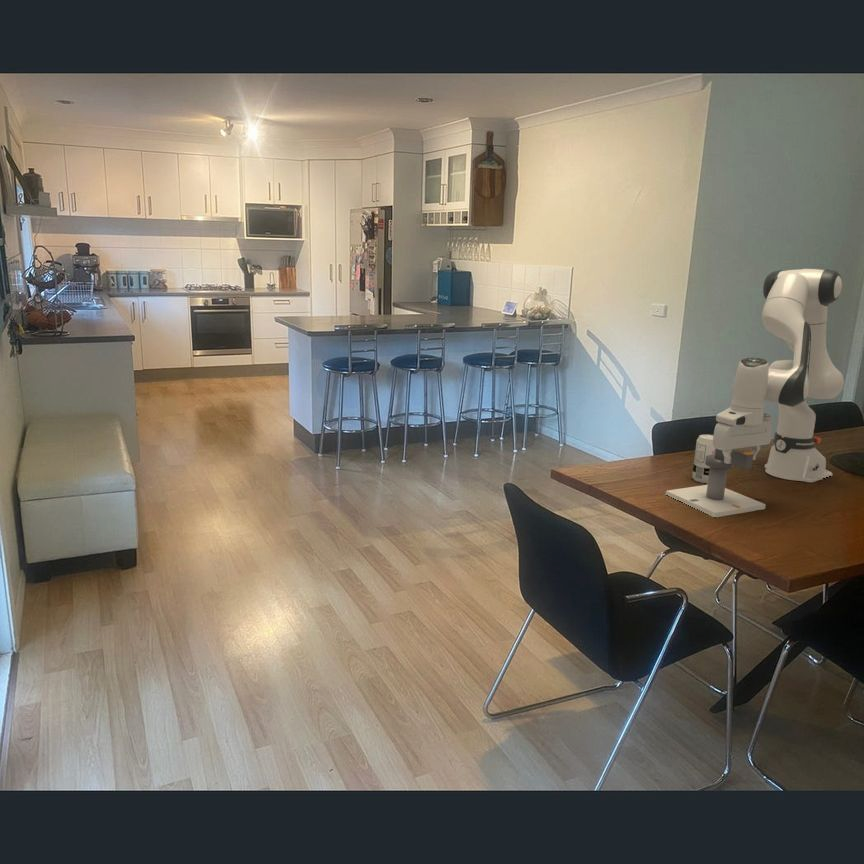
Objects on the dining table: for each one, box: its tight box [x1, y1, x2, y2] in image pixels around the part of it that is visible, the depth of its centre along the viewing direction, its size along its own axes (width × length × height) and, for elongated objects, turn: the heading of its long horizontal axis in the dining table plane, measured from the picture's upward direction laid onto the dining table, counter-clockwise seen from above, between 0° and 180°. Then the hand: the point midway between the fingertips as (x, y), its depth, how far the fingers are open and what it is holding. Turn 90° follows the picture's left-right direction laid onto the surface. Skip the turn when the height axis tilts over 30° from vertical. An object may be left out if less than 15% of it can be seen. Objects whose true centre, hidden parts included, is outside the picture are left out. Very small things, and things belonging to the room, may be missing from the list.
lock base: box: [665, 467, 767, 518], centre depth 212 cm, size 20×20×12 cm
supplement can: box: [691, 434, 716, 485], centre depth 232 cm, size 8×8×15 cm
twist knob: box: [705, 448, 754, 470], centre depth 207 cm, size 14×8×7 cm, turn 24°
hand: (739, 461), depth 203 cm, fingers open, 8 cm apart
